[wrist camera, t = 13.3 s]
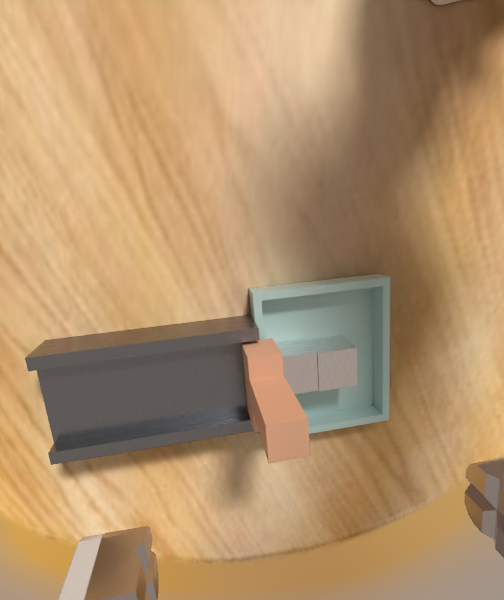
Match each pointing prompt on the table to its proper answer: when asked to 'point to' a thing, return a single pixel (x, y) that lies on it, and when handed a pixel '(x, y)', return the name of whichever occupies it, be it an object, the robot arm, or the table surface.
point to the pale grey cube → (335, 362)
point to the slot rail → (144, 387)
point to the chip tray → (331, 322)
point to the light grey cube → (299, 365)
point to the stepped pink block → (273, 403)
